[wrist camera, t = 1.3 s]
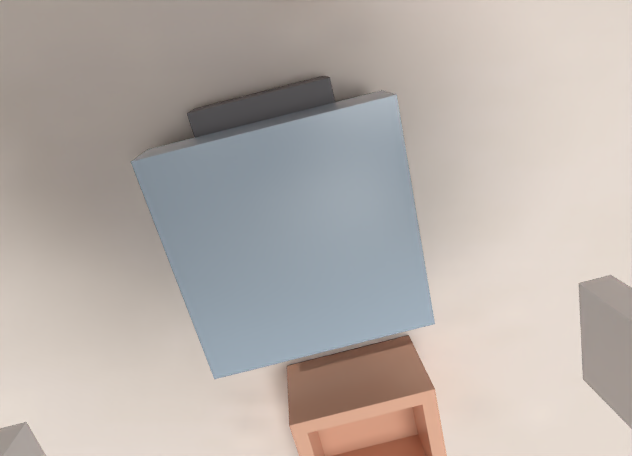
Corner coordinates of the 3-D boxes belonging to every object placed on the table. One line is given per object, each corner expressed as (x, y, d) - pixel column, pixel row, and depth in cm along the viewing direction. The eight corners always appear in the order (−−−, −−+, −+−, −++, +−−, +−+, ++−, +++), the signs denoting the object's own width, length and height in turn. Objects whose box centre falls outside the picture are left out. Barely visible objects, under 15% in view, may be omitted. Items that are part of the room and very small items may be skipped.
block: (194, 108, 21) (186, 113, 19) (324, 75, 21) (329, 77, 19) (266, 331, 25) (265, 352, 23) (374, 303, 25) (382, 323, 23)
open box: (286, 365, 26) (289, 425, 22) (408, 335, 26) (434, 389, 22) (315, 458, 28) (322, 527, 24) (426, 430, 28) (453, 494, 24)
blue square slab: (148, 149, 19) (130, 161, 17) (381, 90, 19) (396, 94, 17) (220, 346, 23) (214, 379, 20) (418, 296, 23) (434, 324, 20)
